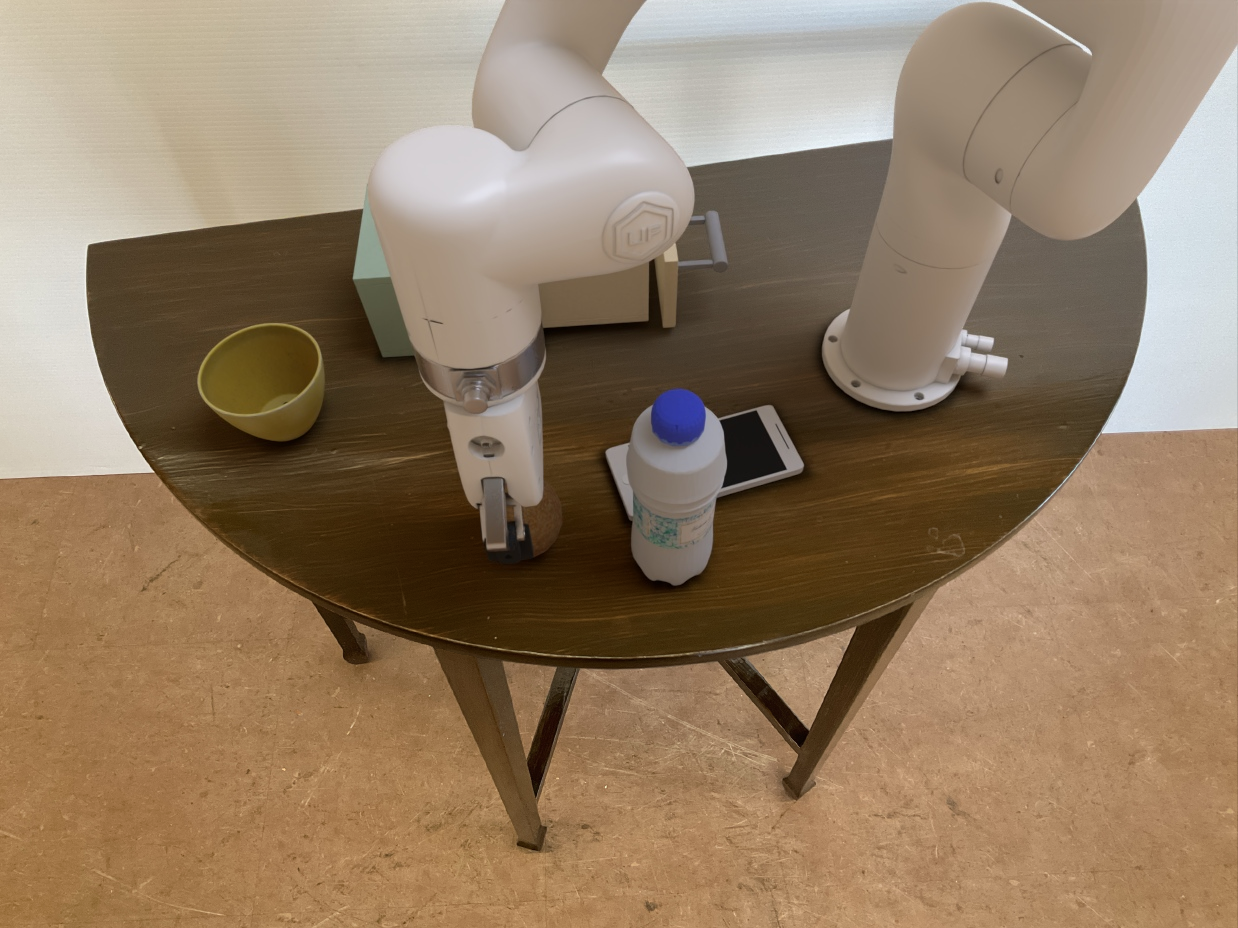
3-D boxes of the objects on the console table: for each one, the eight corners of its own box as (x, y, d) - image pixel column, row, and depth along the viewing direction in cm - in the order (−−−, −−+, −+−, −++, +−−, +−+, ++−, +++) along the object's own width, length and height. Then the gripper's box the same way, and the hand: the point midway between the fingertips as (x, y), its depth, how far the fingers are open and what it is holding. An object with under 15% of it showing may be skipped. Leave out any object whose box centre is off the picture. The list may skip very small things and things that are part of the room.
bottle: (681, 610, 66) (694, 466, 49) (611, 564, 68) (602, 411, 51) (729, 548, 69) (756, 392, 52) (661, 506, 71) (666, 343, 54)
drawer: (711, 241, 87) (717, 173, 80) (727, 323, 81) (734, 257, 74) (531, 253, 87) (522, 185, 80) (532, 336, 81) (522, 271, 74)
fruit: (520, 590, 67) (506, 541, 60) (474, 537, 70) (457, 484, 63) (582, 544, 69) (575, 492, 62) (535, 494, 72) (524, 439, 65)
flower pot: (367, 417, 77) (344, 365, 71) (271, 486, 73) (238, 437, 67) (305, 358, 81) (278, 305, 75) (210, 420, 77) (174, 369, 71)
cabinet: (535, 255, 88) (524, 173, 80) (537, 347, 81) (524, 268, 73) (393, 264, 88) (366, 183, 79) (382, 357, 81) (352, 279, 72)
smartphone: (604, 454, 74) (604, 448, 73) (770, 409, 76) (771, 402, 75) (630, 523, 70) (630, 517, 69) (803, 472, 72) (805, 466, 71)
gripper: (547, 460, 45) (565, 602, 59) (541, 237, 54) (559, 404, 69) (402, 469, 44) (456, 609, 59) (423, 243, 54) (465, 410, 68)
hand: (511, 498), depth 63 cm, fingers open, 9 cm apart
